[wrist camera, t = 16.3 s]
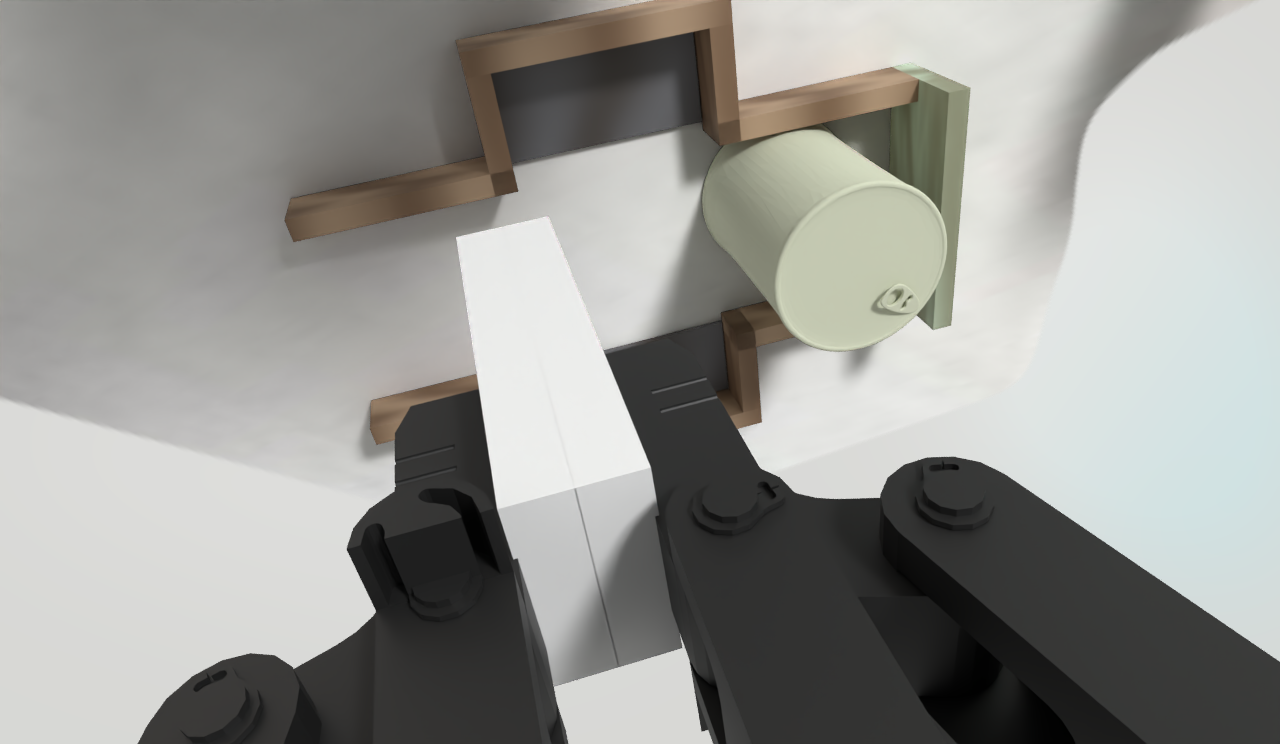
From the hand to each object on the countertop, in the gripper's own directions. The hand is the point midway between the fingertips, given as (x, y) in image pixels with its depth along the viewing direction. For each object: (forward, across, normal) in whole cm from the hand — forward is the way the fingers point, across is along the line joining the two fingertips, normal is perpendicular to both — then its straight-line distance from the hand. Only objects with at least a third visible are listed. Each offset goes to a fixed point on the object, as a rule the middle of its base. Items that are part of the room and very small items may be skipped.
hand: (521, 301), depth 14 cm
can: (+33, +16, -14) cm, 39 cm away
